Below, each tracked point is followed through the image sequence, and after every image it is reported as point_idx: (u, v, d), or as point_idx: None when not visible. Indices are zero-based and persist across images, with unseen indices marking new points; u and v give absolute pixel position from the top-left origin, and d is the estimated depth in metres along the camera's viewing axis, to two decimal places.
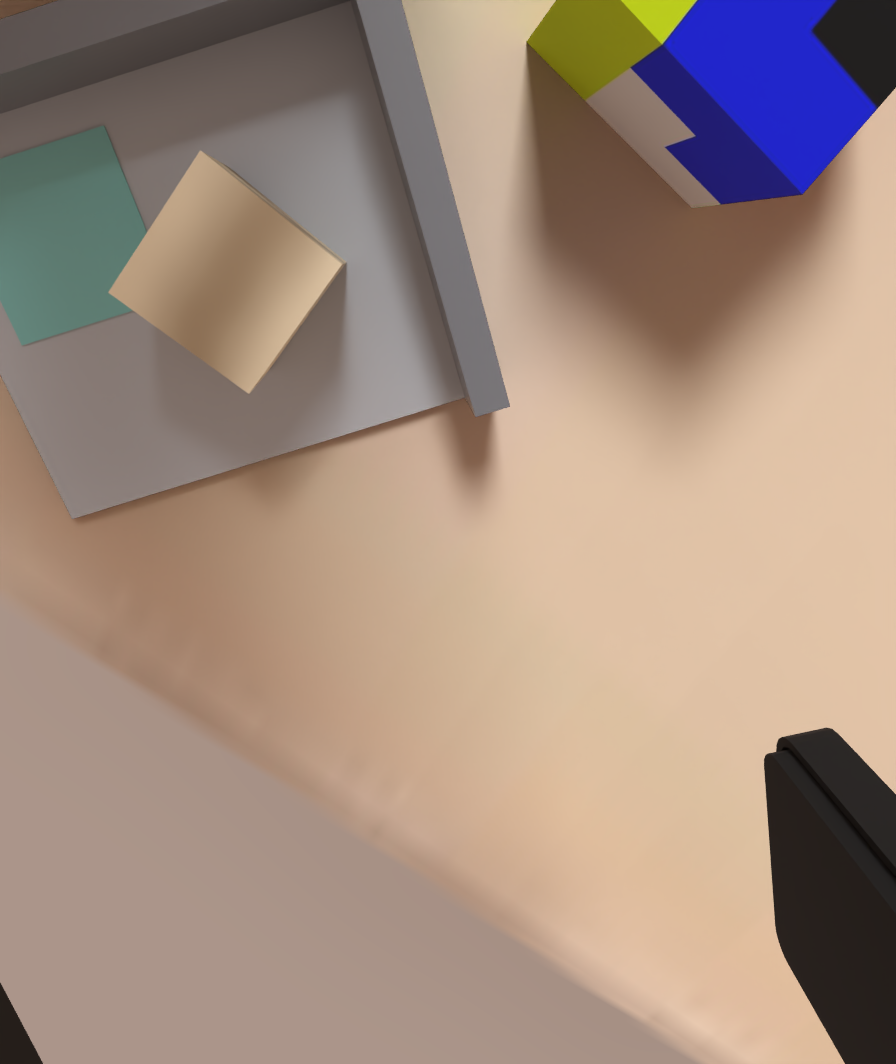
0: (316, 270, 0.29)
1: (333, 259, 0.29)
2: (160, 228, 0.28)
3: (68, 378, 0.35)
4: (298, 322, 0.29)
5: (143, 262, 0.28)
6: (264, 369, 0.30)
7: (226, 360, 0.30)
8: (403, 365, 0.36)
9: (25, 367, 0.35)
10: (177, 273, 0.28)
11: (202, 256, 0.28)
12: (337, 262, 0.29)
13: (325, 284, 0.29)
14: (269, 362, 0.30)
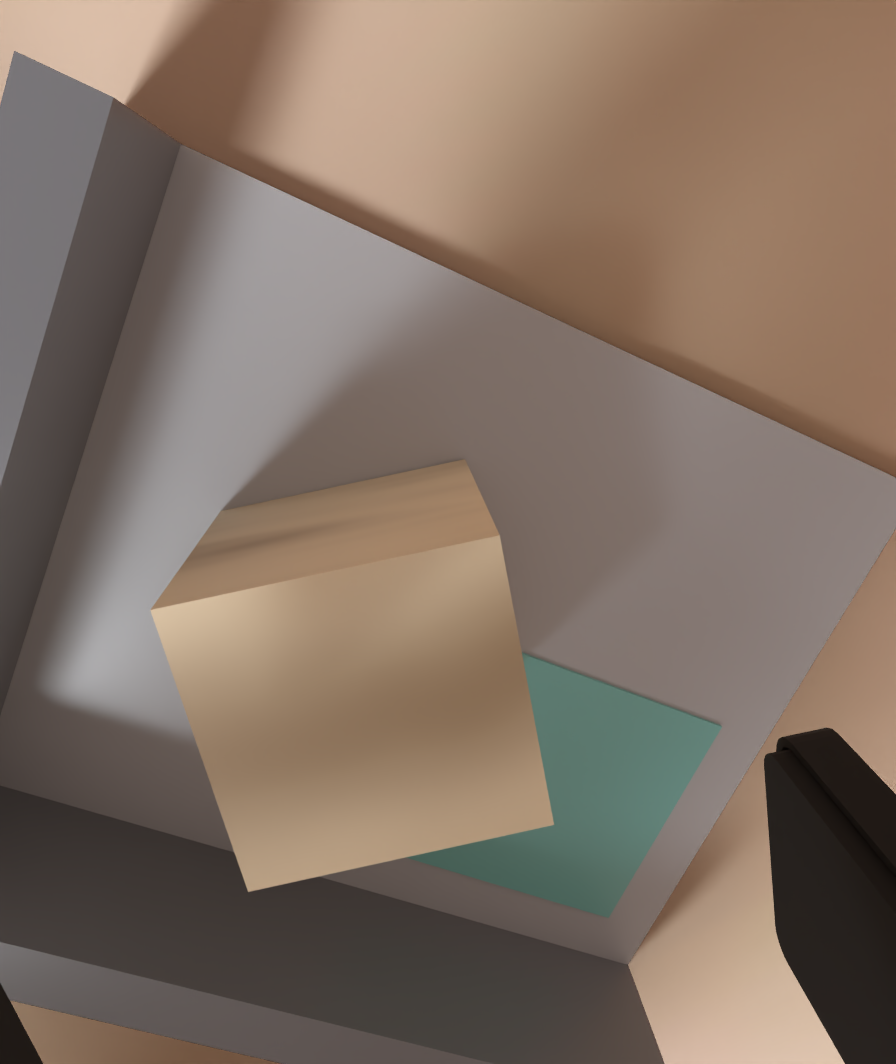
0: (204, 631, 0.13)
1: (159, 628, 0.13)
2: (398, 846, 0.15)
3: (716, 653, 0.21)
4: (307, 579, 0.13)
5: (465, 825, 0.15)
6: (435, 552, 0.13)
7: (481, 613, 0.14)
8: (250, 293, 0.17)
9: (746, 701, 0.22)
10: (432, 780, 0.15)
11: (371, 775, 0.15)
12: (156, 617, 0.13)
13: (206, 601, 0.13)
14: (415, 556, 0.13)
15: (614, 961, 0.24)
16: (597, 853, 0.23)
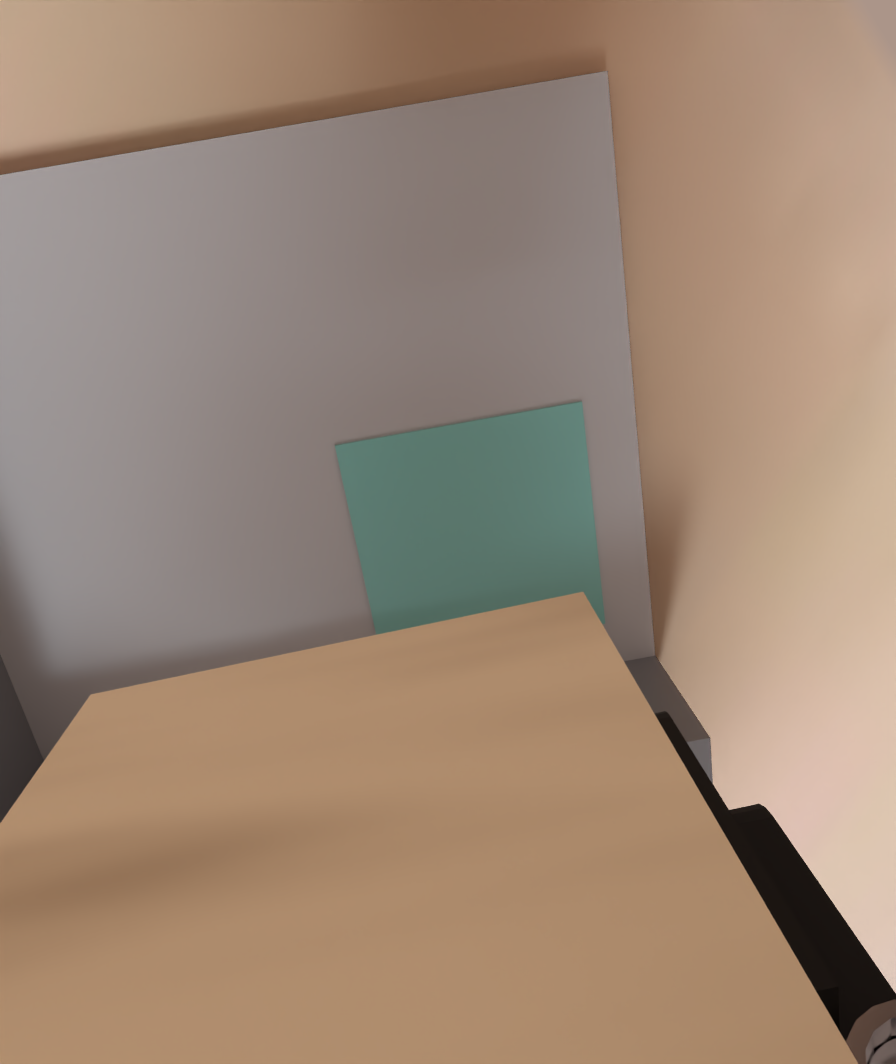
0: None
1: None
2: None
3: (529, 340, 0.21)
4: None
5: None
6: None
7: None
8: None
9: (589, 366, 0.22)
10: None
11: None
12: None
13: None
14: None
15: (640, 658, 0.25)
16: (555, 573, 0.24)
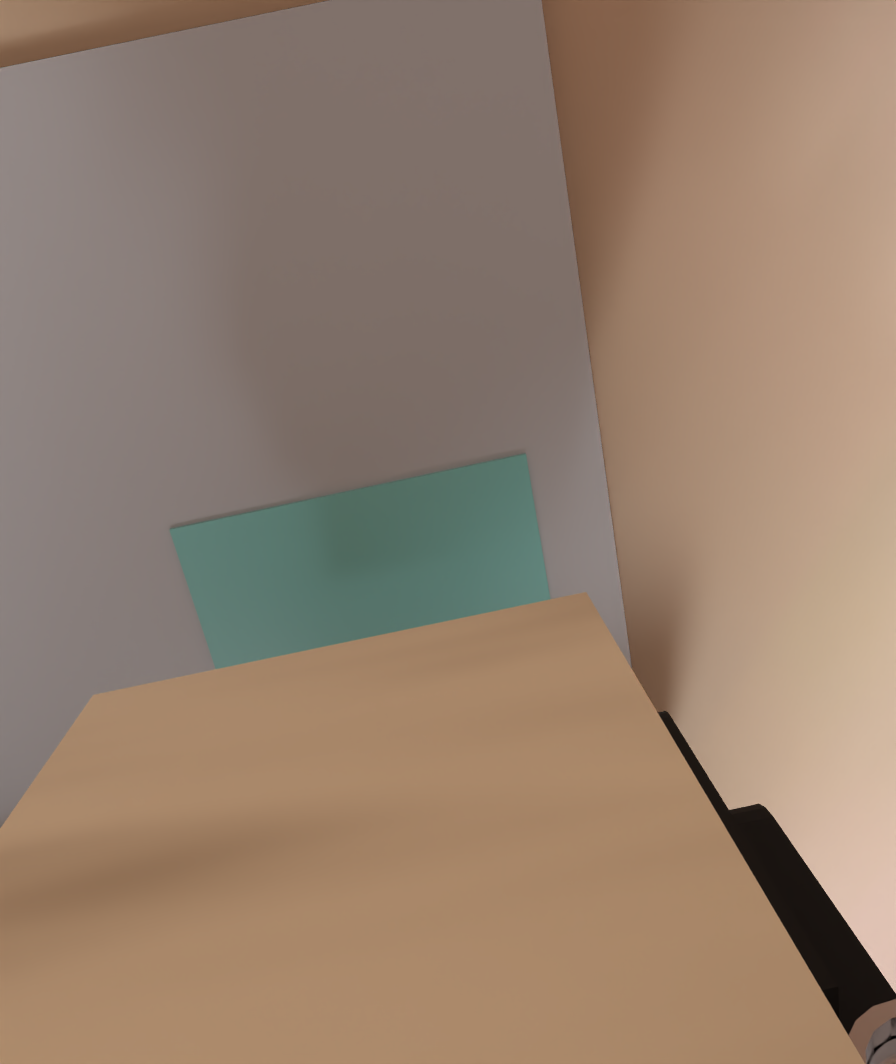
0: None
1: None
2: None
3: (444, 369, 0.15)
4: None
5: None
6: None
7: None
8: None
9: (534, 403, 0.15)
10: None
11: None
12: None
13: None
14: None
15: None
16: None
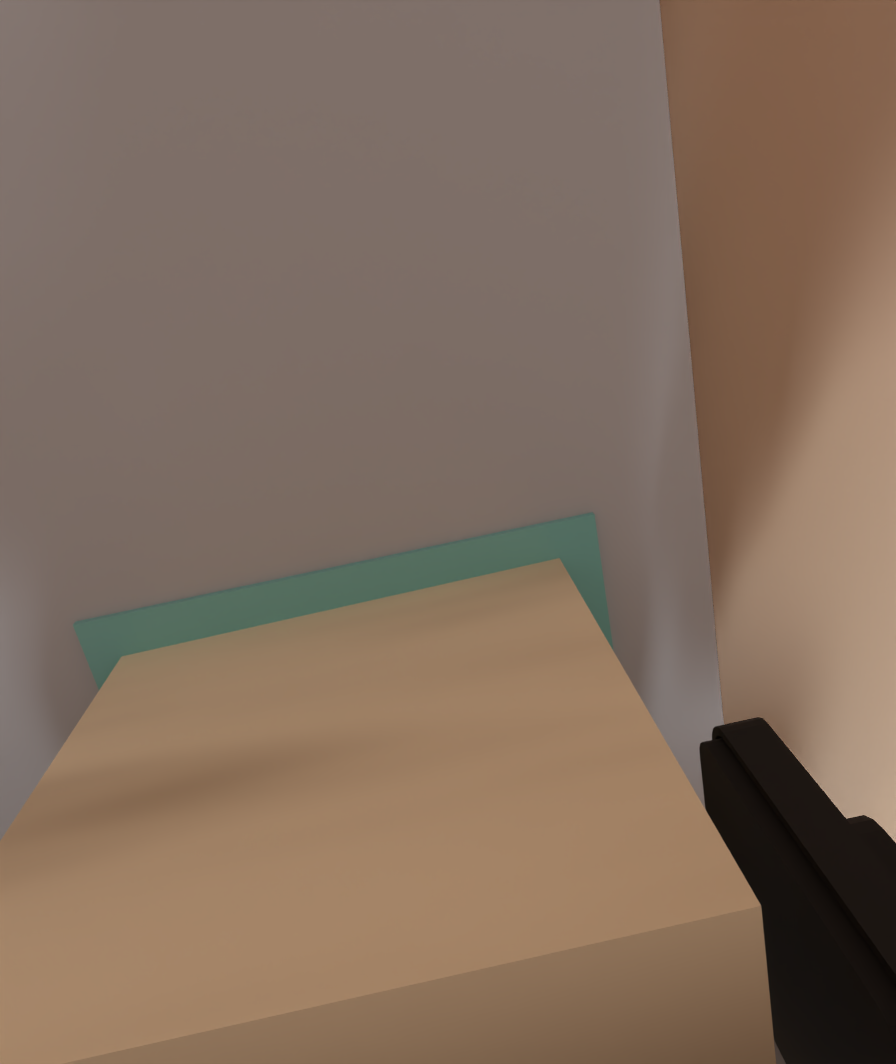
0: None
1: None
2: None
3: (476, 391, 0.10)
4: (240, 1028, 0.05)
5: None
6: (586, 955, 0.05)
7: None
8: None
9: (608, 441, 0.10)
10: None
11: None
12: None
13: None
14: (534, 966, 0.05)
15: None
16: None
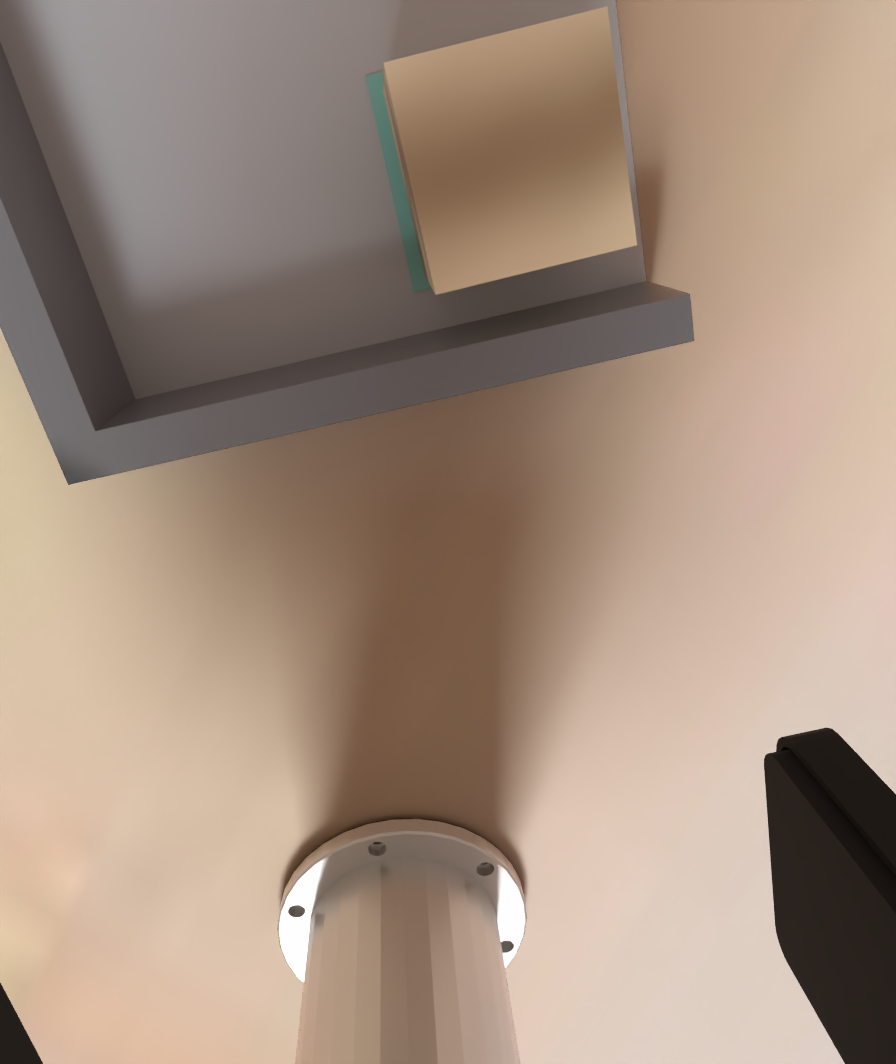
0: (416, 80, 0.21)
1: (388, 76, 0.21)
2: (534, 259, 0.23)
3: None
4: (483, 40, 0.21)
5: (579, 243, 0.23)
6: (565, 19, 0.21)
7: (594, 69, 0.21)
8: None
9: None
10: (558, 206, 0.22)
11: (519, 200, 0.22)
12: (386, 69, 0.21)
13: (419, 56, 0.21)
14: (553, 22, 0.21)
15: (633, 284, 0.29)
16: None
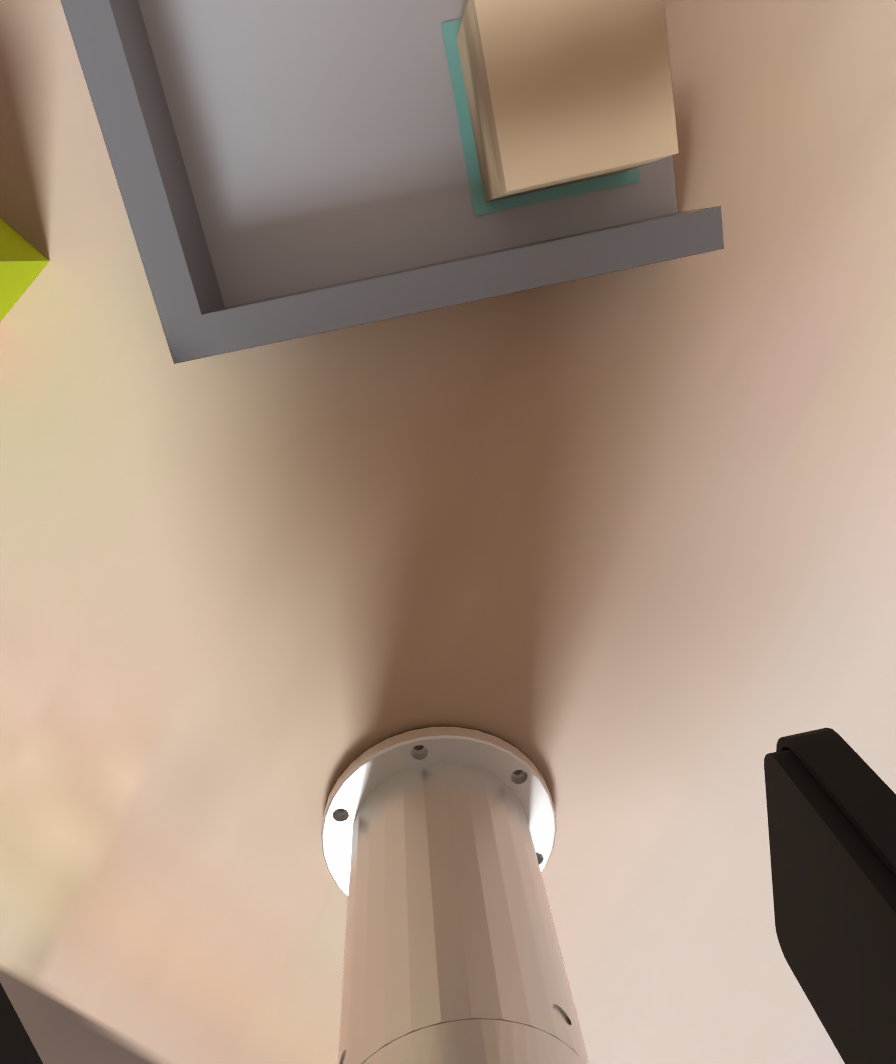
0: (498, 4, 0.25)
1: (476, 0, 0.25)
2: (591, 162, 0.27)
3: None
4: None
5: (629, 149, 0.27)
6: None
7: None
8: None
9: None
10: (613, 116, 0.26)
11: (580, 109, 0.26)
12: None
13: None
14: None
15: (666, 214, 0.33)
16: None
